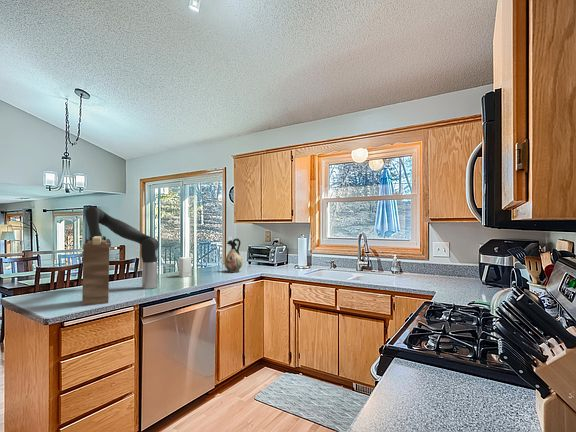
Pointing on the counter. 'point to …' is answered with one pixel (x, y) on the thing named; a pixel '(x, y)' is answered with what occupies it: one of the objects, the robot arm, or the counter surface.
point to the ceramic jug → (233, 257)
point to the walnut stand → (95, 273)
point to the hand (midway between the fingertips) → (97, 237)
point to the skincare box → (184, 266)
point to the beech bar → (96, 240)
